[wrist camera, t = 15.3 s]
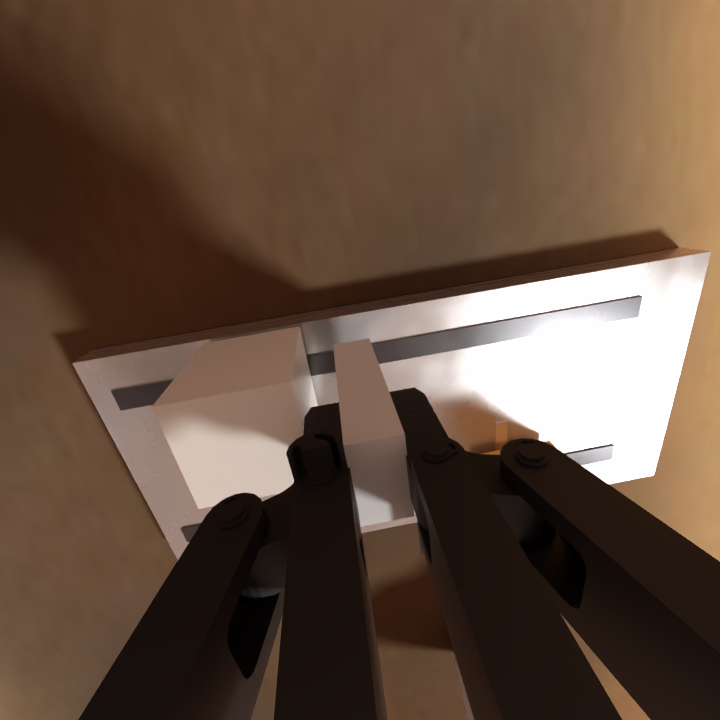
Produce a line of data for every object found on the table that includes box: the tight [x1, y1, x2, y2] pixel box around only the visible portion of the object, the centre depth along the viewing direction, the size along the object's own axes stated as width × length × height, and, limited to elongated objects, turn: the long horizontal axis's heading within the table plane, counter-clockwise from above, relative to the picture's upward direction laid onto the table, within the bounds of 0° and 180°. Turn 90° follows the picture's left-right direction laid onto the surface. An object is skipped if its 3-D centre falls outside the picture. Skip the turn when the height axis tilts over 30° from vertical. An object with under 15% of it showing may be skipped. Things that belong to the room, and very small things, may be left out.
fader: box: [152, 326, 318, 509], centre depth 13 cm, size 4×4×5 cm
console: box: [72, 248, 711, 560], centre depth 19 cm, size 28×13×2 cm, turn 98°
